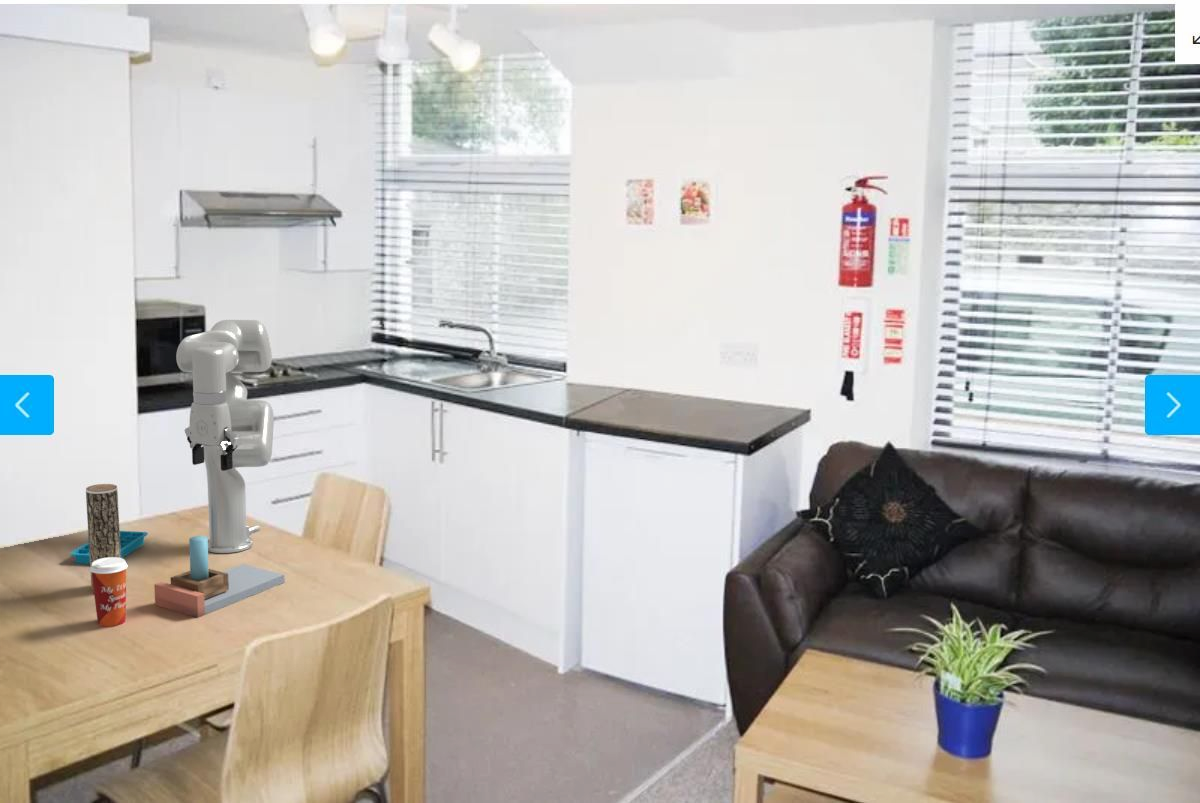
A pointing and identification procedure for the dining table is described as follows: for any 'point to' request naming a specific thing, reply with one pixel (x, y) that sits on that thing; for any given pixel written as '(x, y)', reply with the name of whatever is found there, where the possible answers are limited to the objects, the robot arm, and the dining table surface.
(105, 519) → the bark log
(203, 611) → the long flat grey board
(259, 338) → the robot arm
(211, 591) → the square wooden tray
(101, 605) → the paper cup
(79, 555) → the ice cube tray
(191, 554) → the dowel
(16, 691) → the dining table surface
